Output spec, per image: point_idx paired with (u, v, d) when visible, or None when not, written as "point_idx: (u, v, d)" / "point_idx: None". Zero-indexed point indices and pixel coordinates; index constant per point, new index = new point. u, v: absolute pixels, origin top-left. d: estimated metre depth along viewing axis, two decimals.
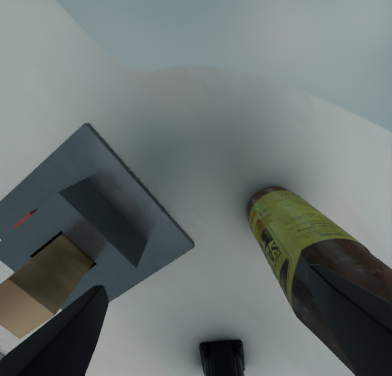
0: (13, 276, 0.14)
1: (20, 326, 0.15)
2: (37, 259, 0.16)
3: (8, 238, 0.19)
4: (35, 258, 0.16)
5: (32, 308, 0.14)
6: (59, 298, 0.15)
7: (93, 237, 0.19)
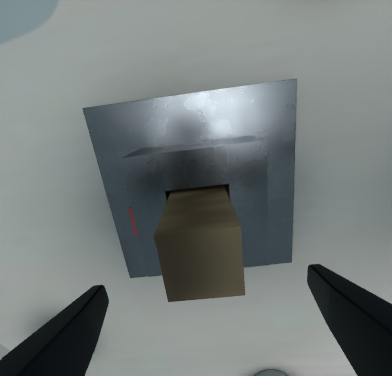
0: (157, 231, 0.10)
1: (228, 280, 0.10)
2: (166, 213, 0.11)
3: (144, 248, 0.16)
4: (164, 214, 0.11)
5: (211, 244, 0.09)
6: (227, 216, 0.10)
7: (193, 162, 0.14)
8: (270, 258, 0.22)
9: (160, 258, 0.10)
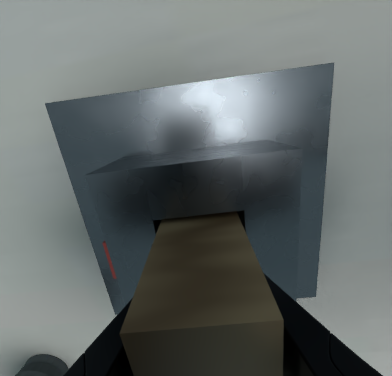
0: (127, 321, 0.05)
1: None
2: (150, 268, 0.07)
3: (126, 295, 0.12)
4: (146, 269, 0.07)
5: (227, 347, 0.05)
6: (252, 286, 0.06)
7: (193, 180, 0.09)
8: None
9: (134, 368, 0.05)
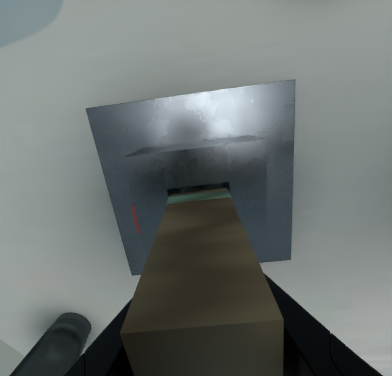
0: (127, 321, 0.05)
1: None
2: (150, 268, 0.07)
3: (146, 245, 0.16)
4: (146, 269, 0.07)
5: (227, 346, 0.05)
6: (252, 286, 0.06)
7: (194, 161, 0.14)
8: (269, 256, 0.22)
9: (134, 367, 0.05)
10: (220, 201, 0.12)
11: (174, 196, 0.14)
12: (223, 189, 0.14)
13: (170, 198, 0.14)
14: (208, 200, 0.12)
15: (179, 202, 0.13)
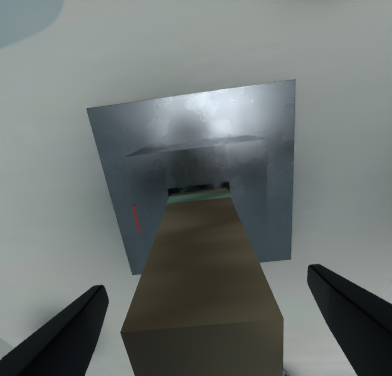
0: (128, 320, 0.05)
1: None
2: (151, 267, 0.07)
3: (147, 245, 0.16)
4: (146, 269, 0.07)
5: (227, 345, 0.05)
6: (252, 286, 0.06)
7: (195, 161, 0.14)
8: (270, 255, 0.22)
9: (134, 366, 0.05)
10: (220, 201, 0.12)
11: (174, 196, 0.14)
12: (223, 189, 0.14)
13: (170, 198, 0.14)
14: (208, 200, 0.12)
15: (179, 202, 0.13)
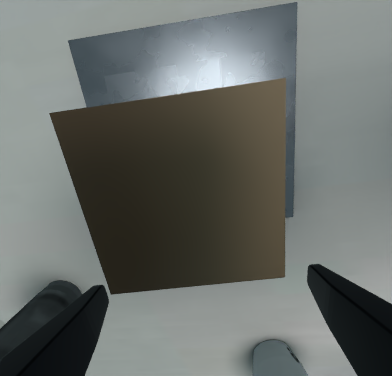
0: None
1: (248, 241, 0.04)
2: None
3: None
4: None
5: (205, 138, 0.04)
6: None
7: (184, 79, 0.13)
8: None
9: (77, 183, 0.04)
10: None
11: None
12: None
13: None
14: None
15: None
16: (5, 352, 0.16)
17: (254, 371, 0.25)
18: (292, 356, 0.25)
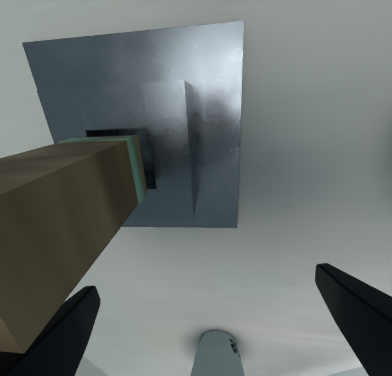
0: None
1: None
2: None
3: None
4: None
5: None
6: None
7: (110, 100, 0.13)
8: (215, 221, 0.22)
9: None
10: (109, 142, 0.11)
11: (78, 138, 0.13)
12: (132, 135, 0.12)
13: (71, 139, 0.12)
14: (100, 141, 0.11)
15: (72, 141, 0.11)
16: None
17: (196, 354, 0.28)
18: (231, 347, 0.28)
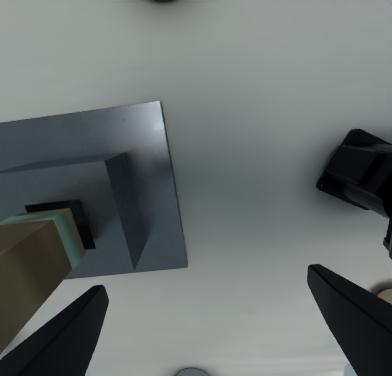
0: None
1: None
2: None
3: None
4: None
5: None
6: None
7: (43, 180, 0.15)
8: (167, 263, 0.23)
9: None
10: (36, 224, 0.13)
11: (15, 216, 0.14)
12: (64, 209, 0.15)
13: (8, 219, 0.14)
14: (30, 222, 0.13)
15: (6, 224, 0.13)
16: None
17: None
18: None
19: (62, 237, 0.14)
